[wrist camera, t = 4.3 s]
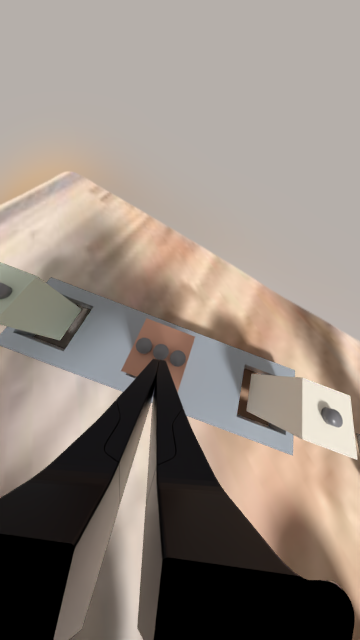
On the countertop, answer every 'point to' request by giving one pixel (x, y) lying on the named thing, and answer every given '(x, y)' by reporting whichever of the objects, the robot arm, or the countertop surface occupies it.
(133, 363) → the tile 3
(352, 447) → the cream block
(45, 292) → the green block
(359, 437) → the skyscraper
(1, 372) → the countertop surface
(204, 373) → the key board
